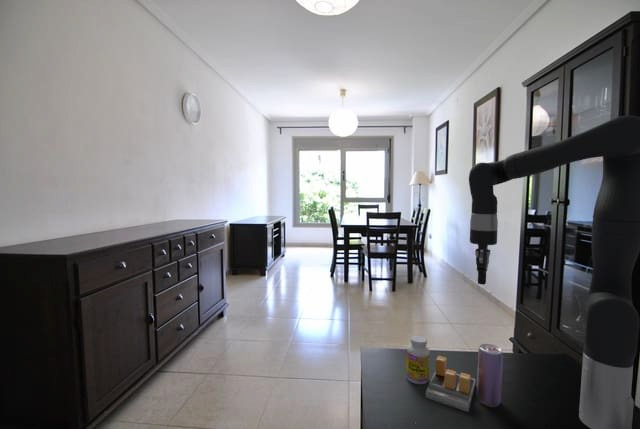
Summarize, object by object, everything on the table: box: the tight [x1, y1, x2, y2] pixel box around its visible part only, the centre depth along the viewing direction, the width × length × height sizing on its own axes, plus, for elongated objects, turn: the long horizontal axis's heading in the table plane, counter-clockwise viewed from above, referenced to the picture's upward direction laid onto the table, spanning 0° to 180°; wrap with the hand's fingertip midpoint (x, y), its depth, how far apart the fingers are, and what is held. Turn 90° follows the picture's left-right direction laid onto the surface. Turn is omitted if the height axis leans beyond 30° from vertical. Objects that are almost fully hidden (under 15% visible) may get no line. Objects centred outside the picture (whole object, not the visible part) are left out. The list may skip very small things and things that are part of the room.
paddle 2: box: [444, 368, 457, 390], centre depth 91 cm, size 2×3×5 cm
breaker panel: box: [425, 370, 476, 413], centre depth 94 cm, size 11×14×3 cm
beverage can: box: [476, 343, 504, 408], centre depth 89 cm, size 6×6×15 cm
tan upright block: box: [459, 371, 472, 394], centre depth 90 cm, size 2×3×5 cm
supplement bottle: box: [405, 334, 431, 385], centre depth 100 cm, size 7×7×13 cm
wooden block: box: [435, 355, 447, 376], centre depth 99 cm, size 2×3×5 cm
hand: (481, 283), depth 101 cm, fingers closed
